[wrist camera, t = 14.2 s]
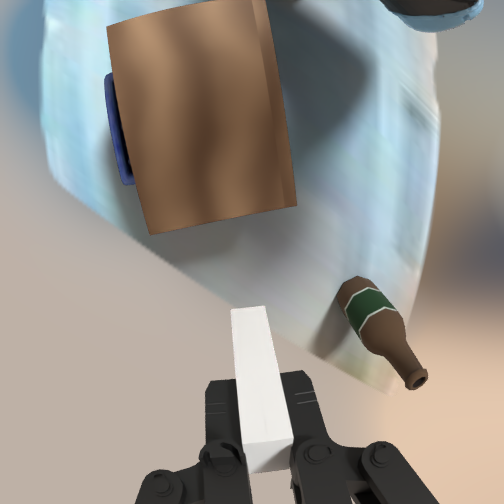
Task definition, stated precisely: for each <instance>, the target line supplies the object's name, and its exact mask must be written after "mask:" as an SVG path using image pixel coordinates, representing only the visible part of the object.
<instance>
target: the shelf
mask: <svg viewBox="0 0 504 504" xmlns="http://www.w3.org/2000/svg"><path fill="white" fill-rule="evenodd" d="M106 28H107V37H108V44H109V52H110V59H111V66H112V72H113V79H114V85H115V90H116V96H117V101H118V107H119V112H120V117H121V122H122V127H123V132H124V136H125V141H126V146H127V150H128V154H129V159H130V163H131V167H132V171H133V175H134V179H135V183H136V187H137V191H138V195H139V199H140V202H141V206H142V210H143V213H144V217H145V220H146V224H147V227H148V231H149V234H150V235H154V234H159V233H163V232H168V231H172V230H177V229H182V228H186V227H191V226H196V225H200V224H205V223H210V222H215V221H220V220H225V219H230V218H235V217H240V216H245V215H250V214H255V213H260V212H265V211H271V210H276V209H281V208H287V207H292V206H297V201H296V192H295V183H294V175H293V167H292V159H291V152H290V144H289V137H288V130H287V123H286V116H285V109H284V103H283V96H282V90H281V84H280V77H279V71H278V66H277V60H276V54H275V48H274V43H273V37H272V32H271V27H270V22H269V16H268V11H267V6H266V2H265V0H215V1H208V2H202V3H196V4H190V5H185V6H180V7H175V8H171V9H166V10H162V11H158V12H154V13H150V14H146V15H142V16H139V17H135V18H132V19H129V20H125V21H122V22H119V23H116V24H113V25H110V26H107V27H106Z"/></svg>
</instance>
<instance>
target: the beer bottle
mask: <svg viewBox="0 0 504 504" xmlns="http://www.w3.org/2000/svg"><path fill="white" fill-rule="evenodd" d="M337 298H338V301H339V304H340V307H341V309H342V311H343V313H344V315H345V316H346V318H347V319H348V321H349V322H350V324H351V326H352V327H353V329H354V330H355V332H356V334H357V335H358V337H359V338H360V340H361V342H362V343H363V345H364V346H365V347H366V348H367V350H369V351H370V352H372V353H373V354H376V355H381V356H384V357H385V358H386V359H387V360H388V361H389V362H390V363H391V365H392V366H393V367H394V369H395V370H396V371H397V373H398V374H399V375H400V376H401V378H402V379H403V380H404V382H405V387H406V388H407V389H409V390H416V389H418V388H419V387H421V386H422V385H423V384H424V383H425V382H426V381H427V379H428V373H427V370H426V369H423V368H422V366H421V364H420V363H419V361H418V359H417V358H416V356H415V355H414V353H413V352H412V350H411V348H410V347H409V345H408V344H407V341H406V333H405V325H404V322H403V318H402V317H401V315H400V314H399V312H398V311H397V310H396V309H395V307H394V306H393V305H392V304H391V303H390V302H389V300H388V299H387V298H386V297H385V296H384V295H383V293H382V292H381V291H380V290H379V289H378V288H377V287H376V286H375V284H374V283H373V282H372V281H370V280H369V279H366V278H363V277H359V276H356V277H354V278H352V279H350V280H348V281H346V282H344V283H343V285H342V287H341V289H340V290H339V292H338V294H337Z"/></svg>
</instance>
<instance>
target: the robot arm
mask: <svg viewBox="0 0 504 504" xmlns="http://www.w3.org/2000/svg"><path fill="white" fill-rule="evenodd" d="M380 1H381V2H382V3H383V4H384V5H385V7H386V8H387V9H388V10H389V11H390V12H392V13H393V14H395V15H397V16H398V17H399V18H400V19H401V20H402V21H403V22H404V23H405V24H406V25H408V26H409V27H411V28H412V29H414V30H417V31H421V32H427V33H434V32H442V31H447V30H450V29H454V28H456V27H459V26H461V25H463V24H465V23H464V22H465V21H466V20H472V19H473V18H475V17H476V16H477V15H478V14H479V13H480V12H481V10H482V9H483V5H484V1H483V0H380ZM231 322H232V335H233V348H234V359H235V372H236V379H230V380H216V381H210V383H209V385H208V387H207V389H206V391H205V405H206V406H205V413H206V415H205V420H206V421H205V424H206V425H205V428H206V445H204V447H203V448H202V449H201V451H200V454H199V460H200V462H198V463H197V464H196V465H194V466H192V467H190V468H187V469H183V470H180V471H177V472H171V471H169V470H160V469H159V470H156V471H152V472H151V473H149V474H148V475H147V476H146V477H145V479H144V480H143V482H142V485H141V488H140V490H139V493H138V496H137V499H136V502H135V504H253V502H252V494H251V487H250V480H249V474H252V473H262V472H270V471H278V470H285V469H289V468H290V470H291V475H292V479H291V488H290V489H293V493H294V498H295V504H352V501H351V497H352V499H353V501H354V502H355V504H439V503H438V501H437V500H436V499H435V497H434V496H433V495H432V493H431V492H430V491H429V489H428V488H427V487H426V486H425V484H424V483H423V482H422V481H421V479H420V478H419V476H418V475H417V474H416V472H415V471H414V470H413V469H412V467H411V466H410V465H409V463H408V462H407V461H406V459H405V458H404V457H403V455H402V454H401V453H400V451H399V450H398V449H397V448H396V447H395V446H394V445H393V444H391V443H388V442H386V441H378V442H375V443H372V444H370V445H369V446H367V447H366V448H358V447H357V448H356V447H345V446H341V445H338V444H337V443H335V442H334V441H332V440H331V438H330V437H329V436H328V433H327V431H326V427H325V424H324V421H323V417H322V414H321V411H320V408H319V404H318V402H317V398H316V395H315V392H314V388H313V385H312V381H311V379H310V378H309V377H308V376H307V374H305V372H304V371H303V370H301V371H293V372H286V373H279V369H278V364H277V360H276V355H275V351H274V347H273V342H272V337H271V333H270V328H269V324H268V319H267V315H266V310H265V306H257V307H247V308H237V309H231ZM350 496H351V497H350Z"/></svg>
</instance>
